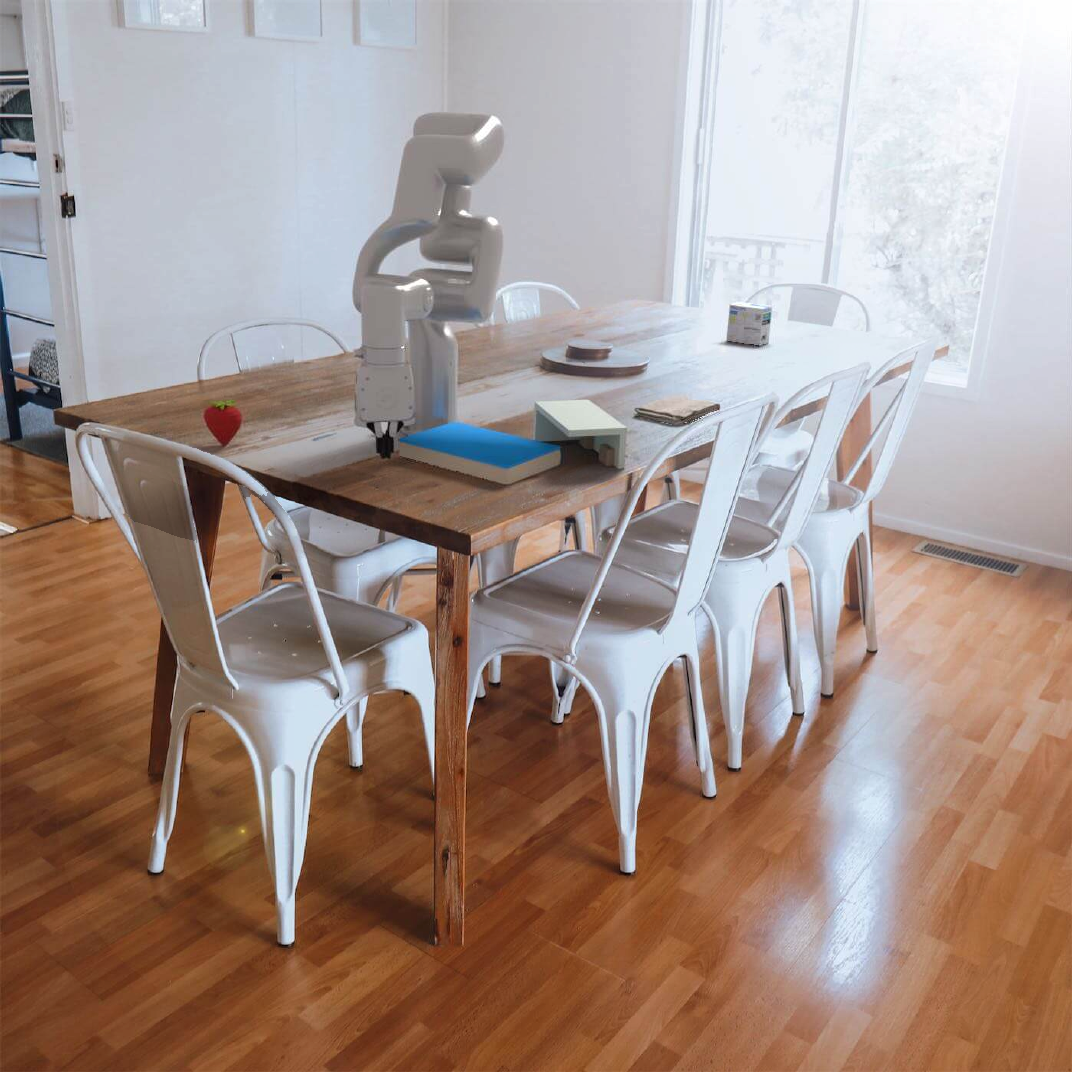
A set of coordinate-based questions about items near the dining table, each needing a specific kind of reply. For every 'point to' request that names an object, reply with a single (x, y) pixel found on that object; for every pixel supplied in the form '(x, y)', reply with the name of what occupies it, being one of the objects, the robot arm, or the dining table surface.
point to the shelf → (581, 428)
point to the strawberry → (223, 420)
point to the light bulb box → (749, 323)
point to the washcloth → (676, 410)
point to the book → (481, 452)
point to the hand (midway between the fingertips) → (385, 456)
